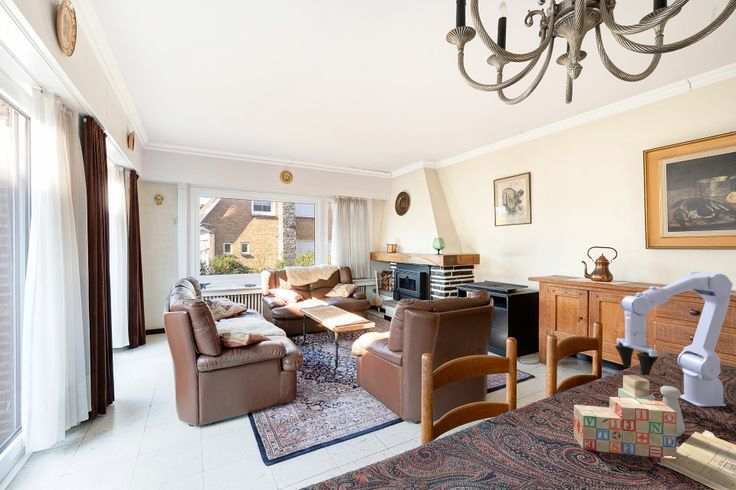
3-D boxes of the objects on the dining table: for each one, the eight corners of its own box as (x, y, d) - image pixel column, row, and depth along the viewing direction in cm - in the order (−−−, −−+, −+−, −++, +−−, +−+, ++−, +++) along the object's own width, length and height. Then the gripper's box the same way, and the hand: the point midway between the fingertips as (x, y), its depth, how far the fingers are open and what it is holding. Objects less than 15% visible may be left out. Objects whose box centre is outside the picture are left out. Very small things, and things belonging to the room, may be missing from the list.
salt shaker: (678, 429, 97) (677, 384, 97) (689, 440, 92) (689, 393, 92) (653, 426, 99) (653, 382, 99) (663, 436, 94) (662, 390, 94)
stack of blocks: (582, 450, 88) (582, 403, 88) (573, 437, 94) (573, 393, 94) (677, 460, 84) (677, 411, 84) (661, 445, 90) (660, 399, 90)
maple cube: (637, 389, 117) (637, 375, 117) (649, 395, 112) (649, 380, 112) (623, 389, 117) (622, 375, 117) (634, 396, 112) (634, 381, 112)
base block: (637, 396, 118) (637, 387, 118) (655, 405, 111) (655, 396, 111) (618, 396, 118) (618, 388, 118) (634, 406, 111) (634, 397, 111)
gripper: (608, 326, 122) (608, 363, 122) (642, 337, 108) (642, 379, 108) (627, 325, 122) (627, 362, 122) (663, 336, 108) (663, 378, 108)
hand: (635, 370), depth 115 cm, fingers open, 7 cm apart
